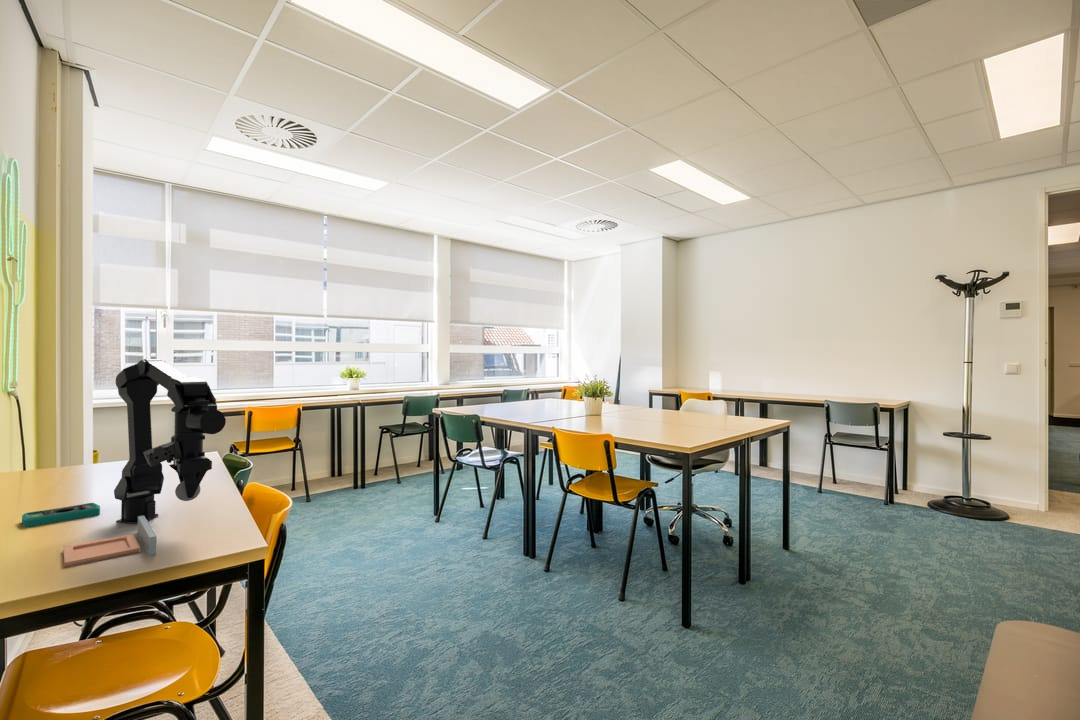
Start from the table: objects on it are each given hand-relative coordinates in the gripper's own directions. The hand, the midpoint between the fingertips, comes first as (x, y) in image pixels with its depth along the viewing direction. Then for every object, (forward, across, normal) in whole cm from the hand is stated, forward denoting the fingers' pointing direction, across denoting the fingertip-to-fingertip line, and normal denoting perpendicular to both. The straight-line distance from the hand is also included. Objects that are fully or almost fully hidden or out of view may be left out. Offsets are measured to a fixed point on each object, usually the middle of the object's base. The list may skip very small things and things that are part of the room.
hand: (187, 495), depth 121 cm
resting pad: (+10, 0, -16) cm, 18 cm away
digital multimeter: (+10, -37, -21) cm, 44 cm away
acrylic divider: (+10, 0, -8) cm, 12 cm away
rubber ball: (-1, 0, 0) cm, 1 cm away
